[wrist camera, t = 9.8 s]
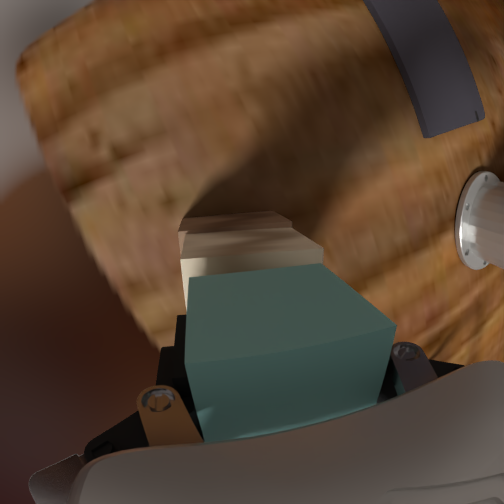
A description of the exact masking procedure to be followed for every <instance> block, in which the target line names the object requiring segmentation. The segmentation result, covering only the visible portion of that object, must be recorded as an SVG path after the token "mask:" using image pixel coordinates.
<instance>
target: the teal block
mask: <svg viewBox="0 0 504 504" xmlns="http://www.w3.org/2000/svg"><path fill="white" fill-rule="evenodd" d="M396 326H397V325H396V324H395V323H393V322H392V321H391V320H390V319H389V318H388V317H386V316H385V315H384V314H383V313H382V312H380V311H379V310H378V309H377V308H376V307H374V306H373V305H372V304H371V303H369V302H368V301H367V300H366V299H365V298H363V297H362V296H361V295H360V294H359V293H357V292H356V291H355V290H354V289H352V288H351V287H350V286H349V285H347V284H346V283H345V282H344V281H343V280H341V279H340V278H339V277H338V276H336V275H335V274H334V273H333V272H331V271H330V270H329V269H328V268H326V267H325V266H324V265H323V264H321V263H317V264H308V265H300V266H291V267H282V268H273V269H264V270H255V271H246V272H236V273H227V274H217V275H207V276H197V277H189V284H188V299H187V316H186V336H185V368H186V372H187V376H188V381H189V385H190V389H191V393H192V397H193V401H194V404H195V408H196V412H197V416H198V419H199V423H200V426H201V430H202V433H203V437H204V440H205V442H213V441H221V440H229V439H237V438H244V437H251V436H257V435H263V434H268V433H273V432H278V431H283V430H288V429H292V428H297V427H301V426H305V425H309V424H313V423H317V422H321V421H325V420H328V419H332V418H335V417H338V416H342V415H345V414H348V413H351V412H355V411H358V410H361V409H364V408H366V407H369V406H372V405H375V404H376V402H377V399H378V396H379V393H380V390H381V386H382V383H383V379H384V376H385V372H386V369H387V365H388V361H389V357H390V353H391V349H392V345H393V340H394V336H395V331H396Z"/></svg>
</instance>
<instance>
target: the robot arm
mask: <svg viewBox="0 0 504 504" xmlns="http://www.w3.org/2000/svg"><path fill="white" fill-rule="evenodd" d="M455 240H456V246H457V251H458V254H459V257H460V259H461V261H462V262H463V263H464V264H465V265H466V266H468V267H469V268H471V269H475V270H479V269H482V268H484V267H486V266H487V265H488V264H489V263H491V264H493V265H496V266H498V267H500V268H502V269H504V182H500V180H499V178H498V177H497V176H496V175H495V174H493V173H492V172H488V171H479V172H477V173H475V174H474V175H473V176H472V177H471V178H470V179H469V180H468V182H467V183H466V185H465V187H464V189H463V191H462V194H461V197H460V200H459V204H458V208H457V214H456V221H455ZM186 316H187V315H177V323H176V333H175V343H174V346H169V347H162V348H161V353H160V360H159V366H158V373H157V380H156V386H152V387H149V388H147V389H145V390H144V391H142V392H141V393H140V395H139V396H138V399H137V407H138V411H137V412H135V413H134V414H132V415H131V416H129V417H128V418H126V419H124V420H123V421H121V422H120V423H118V424H117V425H115V426H114V427H112V428H110V429H109V430H107V431H105V432H104V433H102V434H101V435H99V436H97V437H96V438H94V439H93V440H91V441H90V442H89V443H88V444H87V446H86V447H85V451H84V454H82V455H80V456H78V455H77V454H74V455H73V456H70V457H68V458H66V459H64V460H62V461H60V462H58V463H56V464H54V465H52V466H49V467H47V468H45V469H42V470H40V471H38V472H36V473H35V474H33V475H32V477H31V478H30V480H29V488H30V492H31V494H32V496H33V498H34V500H35V502H36V504H504V363H503V362H500V361H493V360H491V361H482V362H477V363H473V364H469V365H467V366H464V365H459V364H453V363H446V362H441V361H435V360H429V359H428V358H427V357H426V355H425V353H424V351H423V350H422V349H421V347H419V346H418V345H416V344H414V343H410V342H398V343H395V344H393V345H392V349H391V353H390V357H389V361H388V365H387V369H386V372H385V376H384V379H383V383H382V386H381V390H380V393H379V396H378V399H377V402H376V404H375V405H372V406H369V407H366V408H364V409H361V410H358V411H355V412H351V413H348V414H345V415H342V416H338V417H335V418H332V419H328V420H325V421H321V422H317V423H313V424H309V425H305V426H301V427H297V428H292V429H288V430H283V431H278V432H273V433H268V434H263V435H257V436H251V437H244V438H237V439H229V440H221V441H213V442H205V440H204V437H203V433H202V430H201V426H200V423H199V419H198V416H197V412H196V408H195V404H194V401H193V397H192V393H191V389H190V385H189V381H188V376H187V372H186V368H185V336H186Z"/></svg>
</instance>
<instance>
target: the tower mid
mask: <svg viewBox="0 0 504 504" xmlns="http://www.w3.org/2000/svg"><path fill="white" fill-rule="evenodd" d="M323 253H324V248H323V247H321V246H320V245H318V244H316V243H315V242H313V241H312V240H310V239H309V238H307V237H305V236H304V235H302V234H301V233H299V232H298V231H296V230H294V229H293V228H291V227H289V228H272V229H256V230H240V231H226V232H211V233H198V234H185V238H184V243H183V249H182V254H181V259H180V260H181V269H182V278H183V287H184V295H185V303H186V310H187V299H188V284H189V277H197V276H207V275H217V274H227V273H236V272H246V271H255V270H264V269H273V268H282V267H291V266H300V265H308V264H317V263H321V264H323Z"/></svg>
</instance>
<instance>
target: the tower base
mask: <svg viewBox="0 0 504 504" xmlns="http://www.w3.org/2000/svg"><path fill="white" fill-rule="evenodd" d="M289 227H291V228H292V221H291V220H289V219H287V218H285V217H283V216H282V215H280V214H278V213H276V212H274V211H261V212H248V213H236V214H224V215H213V216H203V217H192V218H183V219H182V221H181V224H180V227H179V230H178V236H179V245H180V253H181V254H182V249H183V243H184V238H185V234H198V233H211V232H226V231H240V230H256V229H272V228H289Z"/></svg>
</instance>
